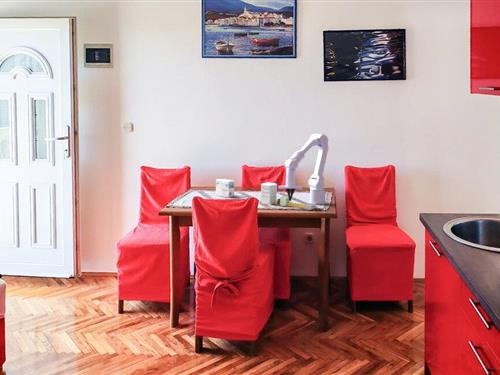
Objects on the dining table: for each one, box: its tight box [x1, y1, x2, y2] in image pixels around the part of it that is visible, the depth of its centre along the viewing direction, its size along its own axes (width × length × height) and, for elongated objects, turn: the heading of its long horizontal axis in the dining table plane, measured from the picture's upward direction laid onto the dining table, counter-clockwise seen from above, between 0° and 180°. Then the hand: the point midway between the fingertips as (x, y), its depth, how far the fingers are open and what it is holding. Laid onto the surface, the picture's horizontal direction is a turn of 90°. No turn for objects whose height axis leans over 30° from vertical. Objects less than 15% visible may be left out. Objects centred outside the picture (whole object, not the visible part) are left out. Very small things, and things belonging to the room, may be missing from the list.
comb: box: [304, 203, 317, 210], centre depth 384 cm, size 4×7×3 cm, turn 152°
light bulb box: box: [215, 178, 235, 198], centre depth 419 cm, size 11×7×11 cm, turn 58°
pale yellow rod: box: [273, 198, 307, 209], centre depth 390 cm, size 24×4×4 cm, turn 62°
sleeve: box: [279, 195, 290, 207], centre depth 392 cm, size 4×5×5 cm
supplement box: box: [260, 182, 278, 206], centre depth 397 cm, size 7×7×13 cm
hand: (290, 200), depth 390 cm, fingers closed
